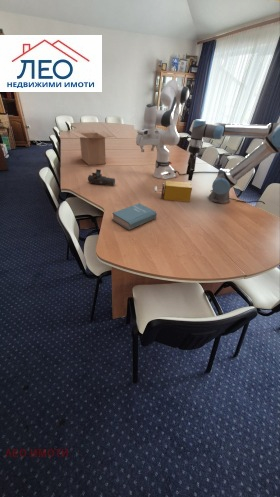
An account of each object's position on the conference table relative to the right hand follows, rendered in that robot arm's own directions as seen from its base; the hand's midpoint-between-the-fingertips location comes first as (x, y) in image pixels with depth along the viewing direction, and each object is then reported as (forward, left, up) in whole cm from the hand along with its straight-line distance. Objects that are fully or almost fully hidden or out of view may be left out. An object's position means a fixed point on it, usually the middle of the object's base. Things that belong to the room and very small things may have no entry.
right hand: (188, 177), depth 161 cm
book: (+40, +36, -17) cm, 56 cm away
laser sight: (+67, -23, -17) cm, 72 cm away
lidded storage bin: (+7, -1, -17) cm, 18 cm away
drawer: (+12, -1, -16) cm, 20 cm away
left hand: (+30, -18, +12) cm, 37 cm away
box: (+82, -88, -17) cm, 122 cm away
